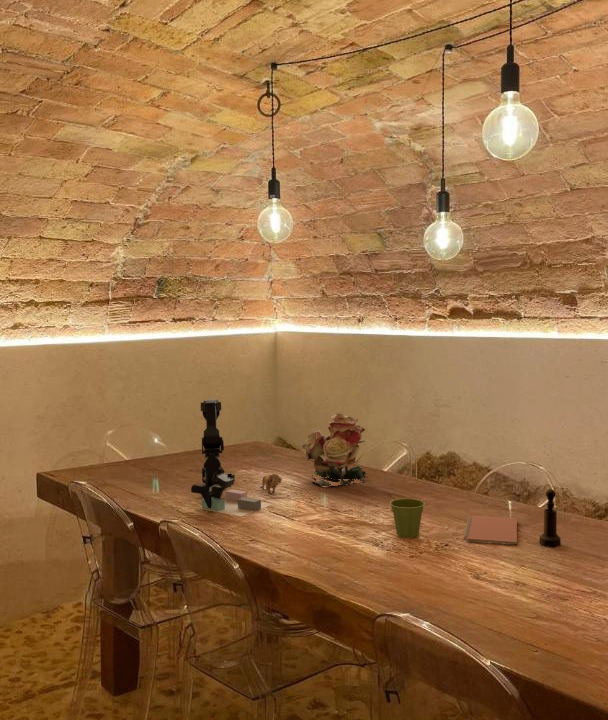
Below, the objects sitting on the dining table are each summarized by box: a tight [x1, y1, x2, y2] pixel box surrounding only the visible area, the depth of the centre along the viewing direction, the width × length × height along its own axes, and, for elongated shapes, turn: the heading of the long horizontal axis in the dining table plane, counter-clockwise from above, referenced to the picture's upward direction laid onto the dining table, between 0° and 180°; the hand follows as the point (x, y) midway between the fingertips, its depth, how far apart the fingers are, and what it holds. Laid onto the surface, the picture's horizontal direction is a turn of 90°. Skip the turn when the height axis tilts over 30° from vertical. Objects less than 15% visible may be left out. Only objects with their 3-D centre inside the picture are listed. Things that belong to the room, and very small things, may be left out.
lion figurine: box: [259, 473, 283, 495], centre depth 316 cm, size 15×5×9 cm, turn 34°
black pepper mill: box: [539, 488, 561, 548], centre depth 245 cm, size 7×6×18 cm
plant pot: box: [389, 497, 426, 539], centre depth 256 cm, size 12×12×11 cm
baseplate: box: [200, 496, 273, 517], centre depth 293 cm, size 20×20×4 cm
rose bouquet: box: [302, 412, 368, 487], centre depth 334 cm, size 26×29×30 cm
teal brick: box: [201, 497, 225, 511], centre depth 291 cm, size 8×4×4 cm, turn 56°
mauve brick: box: [224, 488, 248, 502], centre depth 302 cm, size 8×4×4 cm, turn 56°
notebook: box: [463, 515, 518, 545], centre depth 260 cm, size 27×17×2 cm, turn 164°
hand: (213, 506), depth 291 cm, fingers closed on teal brick, 4 cm apart
